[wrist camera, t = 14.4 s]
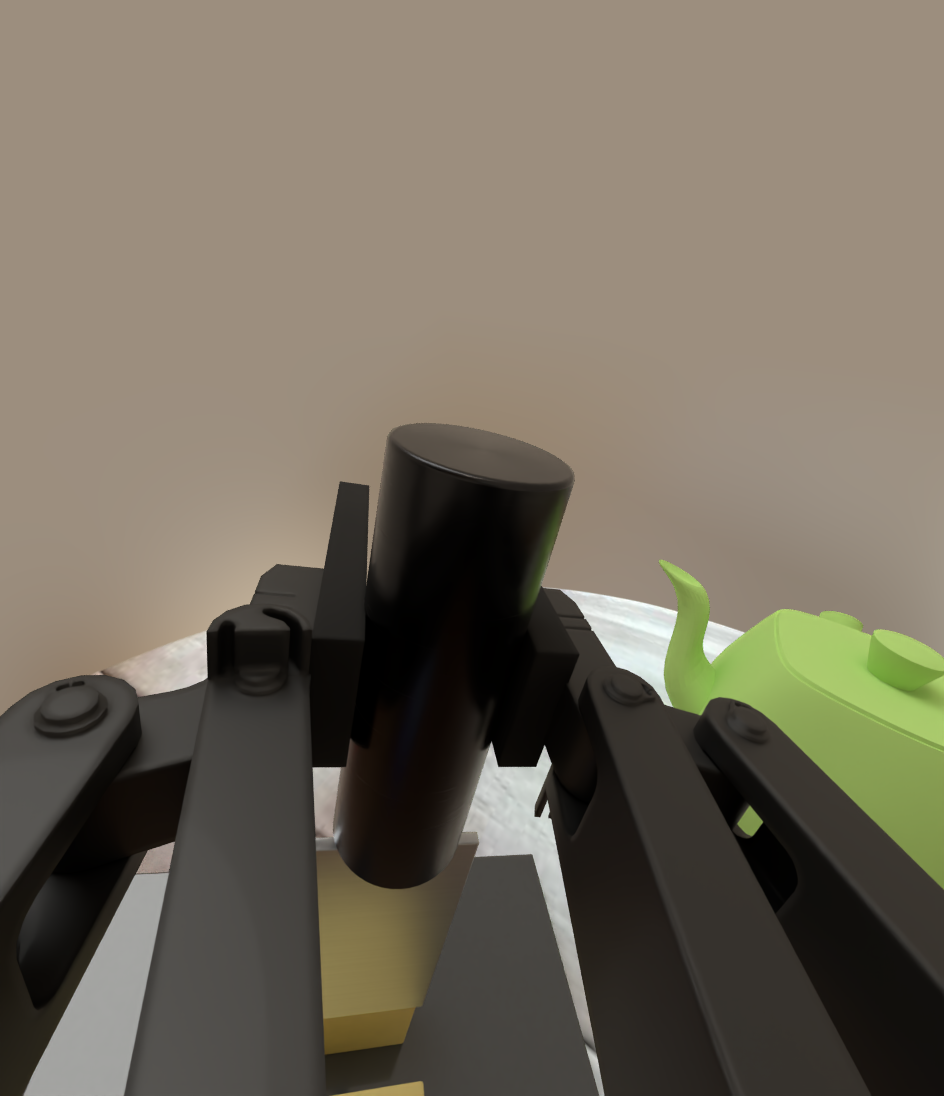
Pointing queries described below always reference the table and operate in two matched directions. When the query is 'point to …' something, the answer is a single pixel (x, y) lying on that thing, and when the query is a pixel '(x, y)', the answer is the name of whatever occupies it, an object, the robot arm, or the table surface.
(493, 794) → the table surface
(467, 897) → the board
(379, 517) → the knife
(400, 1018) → the butter slice
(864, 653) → the teapot
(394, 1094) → the butter block
